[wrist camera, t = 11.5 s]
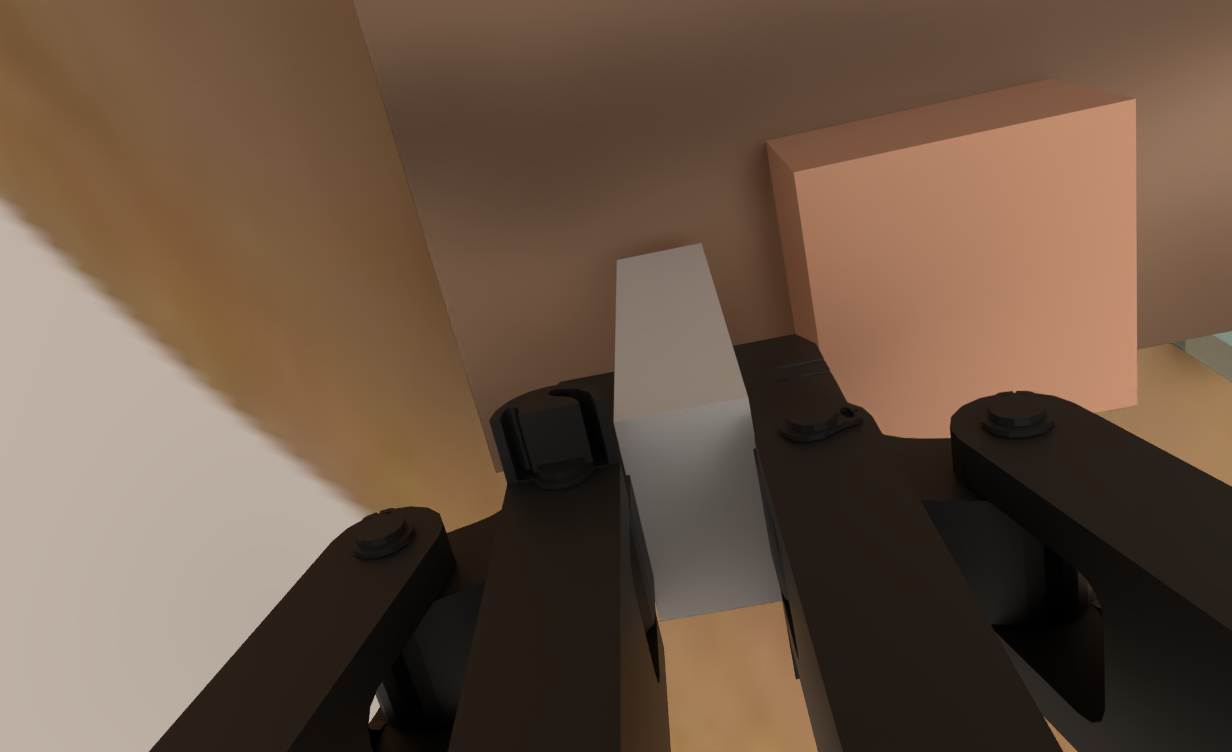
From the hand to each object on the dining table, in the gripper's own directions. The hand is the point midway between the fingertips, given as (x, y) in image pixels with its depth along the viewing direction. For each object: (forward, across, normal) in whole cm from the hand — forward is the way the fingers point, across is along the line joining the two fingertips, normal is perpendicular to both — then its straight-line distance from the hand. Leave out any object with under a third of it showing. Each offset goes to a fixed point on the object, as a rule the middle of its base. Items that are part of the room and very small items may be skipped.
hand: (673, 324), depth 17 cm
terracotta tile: (+1, +5, 0) cm, 5 cm away
